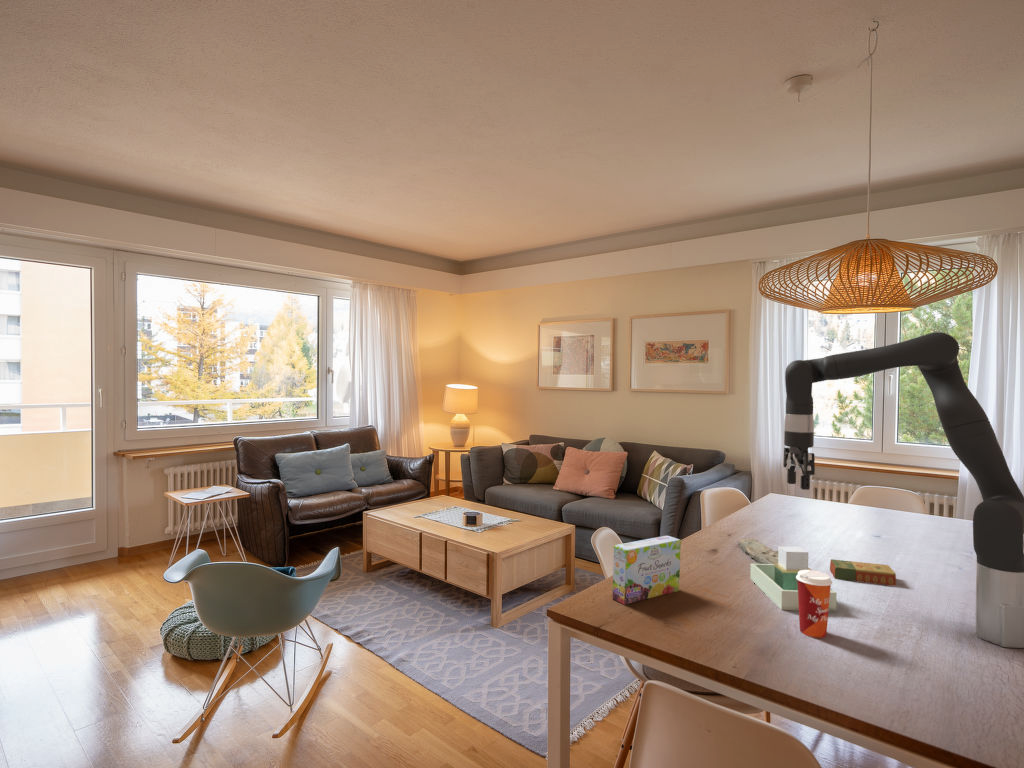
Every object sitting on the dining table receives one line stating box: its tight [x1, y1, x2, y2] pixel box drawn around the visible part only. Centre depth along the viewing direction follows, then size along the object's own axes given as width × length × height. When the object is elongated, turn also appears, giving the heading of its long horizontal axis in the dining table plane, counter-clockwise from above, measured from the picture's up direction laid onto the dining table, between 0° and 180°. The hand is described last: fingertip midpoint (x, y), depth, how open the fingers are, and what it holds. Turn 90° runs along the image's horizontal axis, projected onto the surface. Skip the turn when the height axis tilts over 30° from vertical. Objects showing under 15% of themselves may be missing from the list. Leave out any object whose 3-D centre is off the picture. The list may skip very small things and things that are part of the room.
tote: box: [749, 563, 838, 613], centre depth 158 cm, size 22×14×5 cm, turn 177°
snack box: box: [612, 535, 682, 606], centre depth 156 cm, size 21×6×15 cm, turn 122°
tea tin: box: [774, 563, 812, 590], centre depth 157 cm, size 6×8×7 cm
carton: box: [829, 558, 897, 587], centre depth 172 cm, size 8×16×4 cm, turn 69°
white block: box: [777, 546, 809, 570], centre depth 158 cm, size 5×6×5 cm
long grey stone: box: [738, 537, 778, 564], centre depth 189 cm, size 35×5×10 cm
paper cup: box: [796, 569, 833, 639], centre depth 134 cm, size 8×8×14 cm
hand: (798, 486), depth 160 cm, fingers open, 8 cm apart
